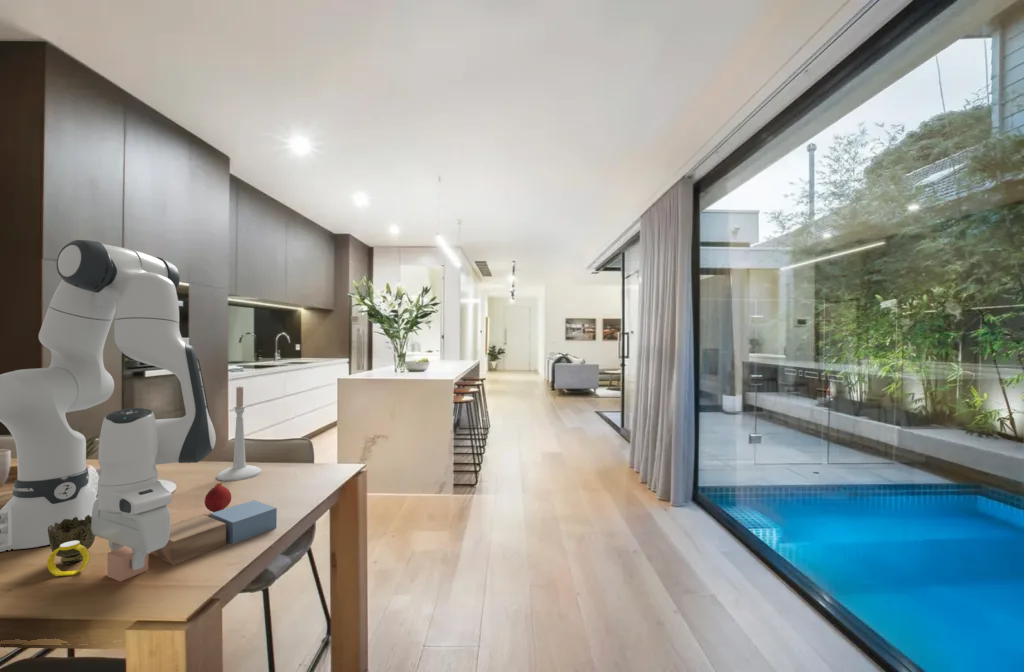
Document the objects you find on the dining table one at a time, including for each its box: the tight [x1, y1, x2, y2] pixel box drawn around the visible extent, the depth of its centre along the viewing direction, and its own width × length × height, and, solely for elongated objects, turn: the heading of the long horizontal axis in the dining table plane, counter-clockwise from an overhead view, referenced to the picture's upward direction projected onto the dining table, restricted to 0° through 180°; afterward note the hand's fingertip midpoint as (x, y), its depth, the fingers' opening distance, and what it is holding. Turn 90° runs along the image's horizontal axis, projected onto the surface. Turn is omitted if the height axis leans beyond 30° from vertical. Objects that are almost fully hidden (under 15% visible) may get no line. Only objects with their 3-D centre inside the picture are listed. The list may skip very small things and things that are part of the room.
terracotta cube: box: [106, 546, 149, 582], centre depth 86 cm, size 4×4×4 cm
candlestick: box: [216, 385, 262, 482], centre depth 148 cm, size 13×13×30 cm
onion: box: [204, 481, 232, 513], centre depth 115 cm, size 6×6×8 cm
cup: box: [48, 515, 96, 565], centre depth 91 cm, size 8×7×8 cm
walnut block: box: [150, 514, 227, 565], centre depth 96 cm, size 10×10×5 cm
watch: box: [46, 541, 90, 577], centre depth 85 cm, size 6×3×6 cm, turn 105°
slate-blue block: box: [209, 500, 278, 545], centre depth 105 cm, size 10×10×5 cm
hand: (128, 564), depth 86 cm, fingers closed on terracotta cube, 4 cm apart
